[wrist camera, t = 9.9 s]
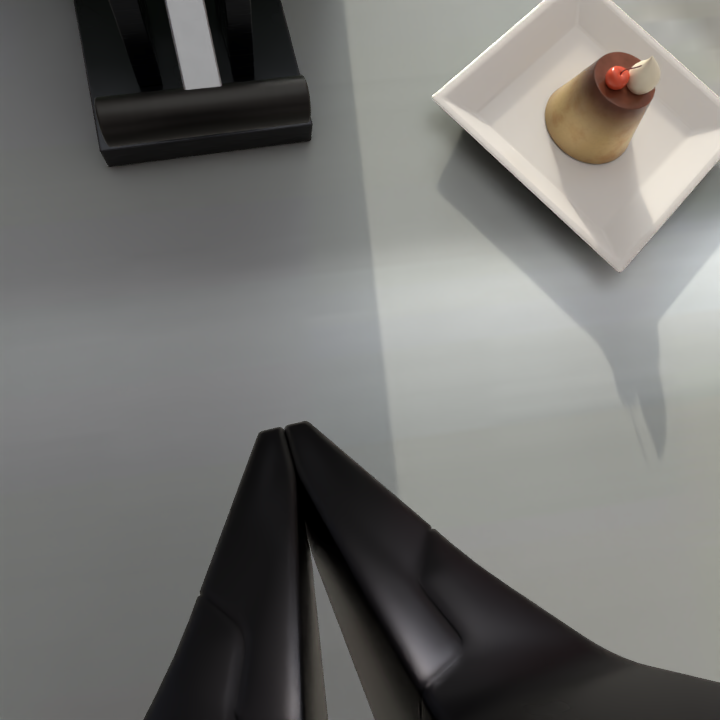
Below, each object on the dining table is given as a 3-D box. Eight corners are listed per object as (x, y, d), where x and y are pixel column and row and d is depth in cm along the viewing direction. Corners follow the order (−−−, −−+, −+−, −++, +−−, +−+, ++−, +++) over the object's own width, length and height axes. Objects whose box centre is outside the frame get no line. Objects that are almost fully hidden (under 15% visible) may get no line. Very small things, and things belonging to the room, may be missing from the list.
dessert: (424, 112, 26) (455, 34, 22) (567, -12, 30) (621, -103, 25) (606, 282, 26) (677, 238, 21) (733, 137, 29) (819, 71, 24)
